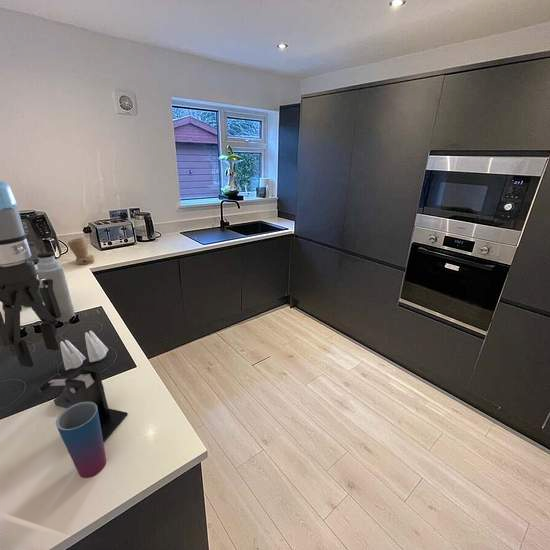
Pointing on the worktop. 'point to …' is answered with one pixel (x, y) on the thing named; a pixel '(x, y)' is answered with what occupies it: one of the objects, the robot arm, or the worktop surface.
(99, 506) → the worktop surface
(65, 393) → the button housing
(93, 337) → the shaker set
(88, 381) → the toaster lever
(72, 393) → the bracket
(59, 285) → the thermos bottle
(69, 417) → the cup
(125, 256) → the worktop surface
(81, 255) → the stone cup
